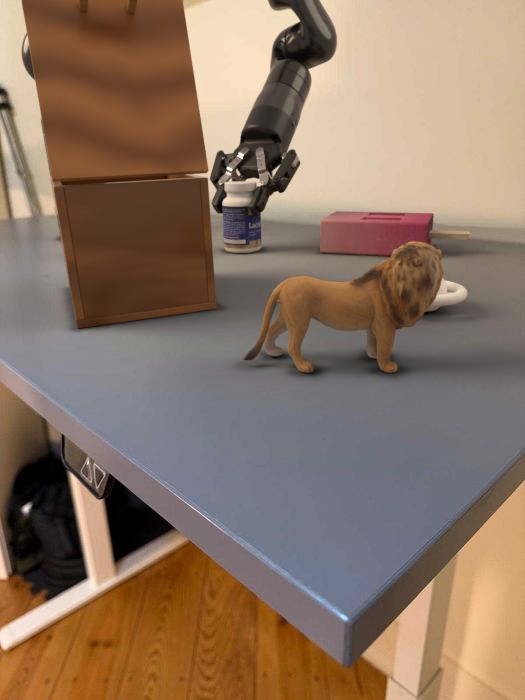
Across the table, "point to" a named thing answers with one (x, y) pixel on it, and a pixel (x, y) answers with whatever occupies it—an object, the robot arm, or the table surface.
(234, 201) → the pill bottle
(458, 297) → the white curved piece
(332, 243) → the popsicle
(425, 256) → the lion figurine
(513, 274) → the table surface
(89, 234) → the chest
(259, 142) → the robot arm
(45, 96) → the lid
